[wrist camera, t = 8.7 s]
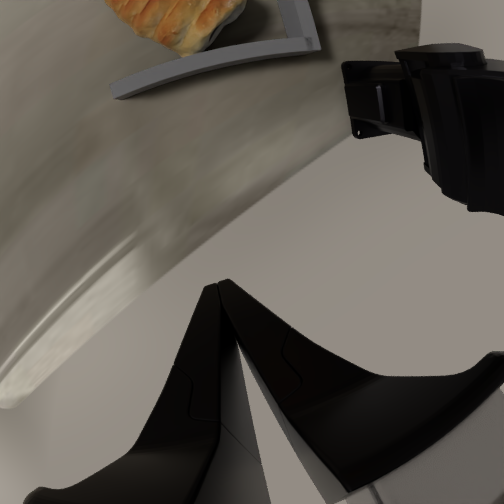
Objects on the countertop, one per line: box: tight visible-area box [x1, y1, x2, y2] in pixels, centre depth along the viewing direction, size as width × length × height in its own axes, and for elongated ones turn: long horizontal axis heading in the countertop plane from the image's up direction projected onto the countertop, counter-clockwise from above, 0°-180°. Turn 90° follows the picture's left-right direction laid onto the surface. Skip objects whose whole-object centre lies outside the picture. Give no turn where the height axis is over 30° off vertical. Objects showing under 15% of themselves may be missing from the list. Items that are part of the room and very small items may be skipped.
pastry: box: [105, 0, 247, 58], centre depth 10 cm, size 9×7×4 cm
